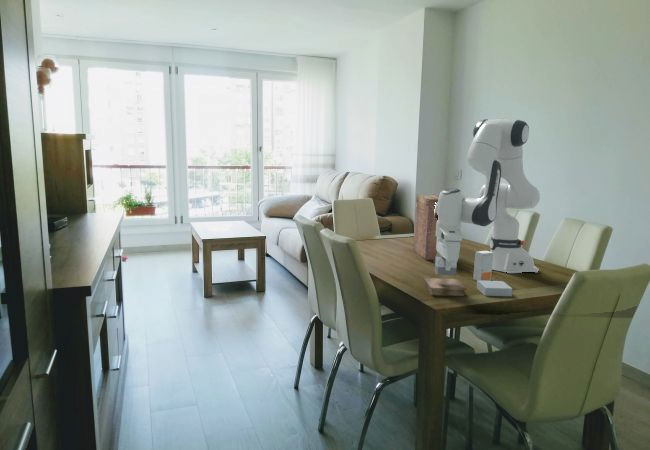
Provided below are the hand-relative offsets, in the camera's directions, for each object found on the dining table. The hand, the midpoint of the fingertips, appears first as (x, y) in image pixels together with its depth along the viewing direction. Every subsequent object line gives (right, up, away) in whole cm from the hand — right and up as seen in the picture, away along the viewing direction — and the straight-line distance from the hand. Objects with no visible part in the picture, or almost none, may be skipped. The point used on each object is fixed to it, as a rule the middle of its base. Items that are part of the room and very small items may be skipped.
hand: (445, 268), depth 179 cm
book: (+8, +1, +65) cm, 65 cm away
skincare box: (+20, -7, +18) cm, 28 cm away
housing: (0, -2, 0) cm, 2 cm away
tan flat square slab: (0, -9, +2) cm, 9 cm away
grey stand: (+19, -9, +1) cm, 21 cm away
